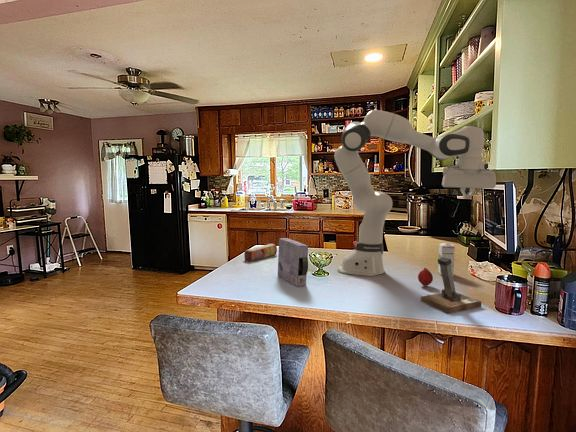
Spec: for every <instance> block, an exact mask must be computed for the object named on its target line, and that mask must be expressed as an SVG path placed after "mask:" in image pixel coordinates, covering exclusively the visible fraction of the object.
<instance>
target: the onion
mask: <svg viewBox="0 0 576 432" xmlns="http://www.w3.org/2000/svg"><path fill="white" fill-rule="evenodd" d="M433 279H434V277H433V274H432V272H431V271H430V270H429V269H428V268H427V267H424V268H423V270H421V271H419V273H418V275H417V280H418V282H419V283H420V284H421V285H422V286H423V287H427V286H429V285H431V284H432V282H433V281H434V280H433Z"/></svg>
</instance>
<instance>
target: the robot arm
mask: <svg viewBox="0 0 576 432" xmlns="http://www.w3.org/2000/svg"><path fill="white" fill-rule="evenodd" d="M372 137H377V138H380V139H384V140H387V141H390V142H395V143H401V144H406V145H410V146H412V147H416V148H418V149H421V150H423V151H426V152H427V153H429V154H430V155H431V156H432V157H434V159H436V160H439V161H443V160H448V159H450V158H452V157H455V156H456V157H458V161H457V163H458V164H457V165H446V166H444V167H443V169H442V175H443V177H442V181H441V186H442V187H443V188H460V192H461V194H462V199H463V200H472V199H473V198H472V196H473V194H474V193H475V192H476V189H489V190H491V189H494V188H496V185H497V177H496V176H497V175H496V173H495V170H489V169H487V168H488V164H490V163H488V162H486V161H483V151H484V145H485V132H484V130H483V128H481V127H479V126H476V125H465V126H463V127H462V128H460V129H459V130H455V131H454V132H451V133H447V134H444V135H442V136H440V137H433V136H430V135H427V134H424V133H423V132H420V131H417V130H416V129H414V127H413V126H412V122H410V120H409V119H407V118H406V117H404V116H402V115H399V114H396V113H393V112H389V111H385V110H378V109H372V110H370V111H369V112H368V113H366V115H365V116H364V119H363V120H362V121H360V120H354V121H351V122H349V123H348V124H347V125H346V126H345V128H344V129H343V131H342V134H341V137H340V138H341V146H339V147H338V148H337V149H336V150H335V152H334V155H333V157H334V160H335V165H336V166H337V168H338V170H339V172H340V173H341V176H342V178H343V179H344V181H345V183H346V184H347V187H348V188H349V190H350V192H351V196H352V198H353V200H352V201H353V207H355V209H357V210H358V211H360V212H361V213H364V214H363V219H362V222H361V223H360V225H359V226H358V227H359V228H358V229H359V230H358V241H356V240H355V241H354V240H353V242H352V243H353V244H352V245H353V246H354V249H352V250H350V252H348V253H347V254H345V255H344V257H343V259H342V262H341V263H342V264H341V263H340V264H338V266H337V272H338V273H340V274H346V275H358V276H366V277H374V276H377V275H381V274H382V275H383V274H385V273H386V271H385V266H384V260H383V254H384V242H383V233H384V225H385V223H386V222H385V221H386V219H387V215H388V214H389V213H390V211H391V210H392V209H393V204H394V203H393V199H392V197H391V196H390V195H388V193H385V192H384V191H379V190H374V188H373V186H372V181H371V178H372V177H371V174H370V172H369V171H368V169H367V167H366V165H365V164H364V162H363V159H362V158H361V156H360V155H359V154H360V153H359V151H360V150H361V149H362V148H363V147H365V146H366V144H367V142H369V140H370V139H371V138H372ZM467 189H469V191H470V192H469V193H468V194H466V192H465V191H466V190H467Z"/></svg>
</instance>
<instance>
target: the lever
mask: <svg viewBox="0 0 576 432" xmlns="http://www.w3.org/2000/svg"><path fill="white" fill-rule="evenodd" d="M437 263H438V264H440V268H441V273H442V276H441V279H442V283H443V287H444V289H445V294H446V296H447V297H449V298H452V299H453V298H454V294H456V292H457V290H456V287H455V282H454V281H455V280H454V274H453V275H452V270H451V259H448V258H444V257H441V258H440V259H439V258H438V259H437Z"/></svg>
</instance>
